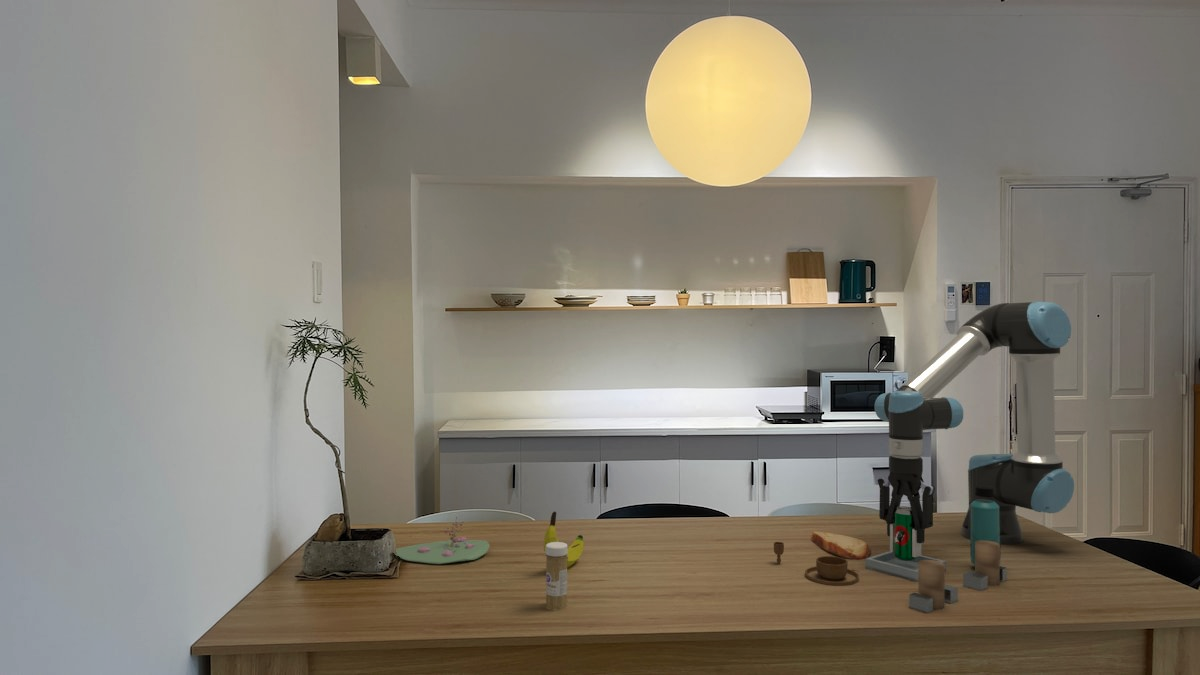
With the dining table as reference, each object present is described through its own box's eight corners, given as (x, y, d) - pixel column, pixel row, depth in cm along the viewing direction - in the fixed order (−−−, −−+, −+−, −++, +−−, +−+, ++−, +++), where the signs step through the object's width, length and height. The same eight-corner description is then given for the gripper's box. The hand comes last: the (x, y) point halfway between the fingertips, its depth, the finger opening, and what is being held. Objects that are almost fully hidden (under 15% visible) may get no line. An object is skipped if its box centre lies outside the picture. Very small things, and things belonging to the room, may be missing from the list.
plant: (390, 568, 189) (390, 531, 189) (392, 545, 209) (392, 512, 209) (493, 560, 195) (492, 525, 195) (485, 539, 215) (485, 507, 215)
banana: (589, 560, 194) (589, 500, 194) (557, 580, 178) (556, 515, 178) (573, 558, 196) (573, 498, 195) (539, 578, 180) (539, 513, 180)
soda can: (918, 562, 181) (918, 511, 181) (896, 560, 182) (896, 510, 182) (914, 555, 186) (914, 506, 186) (892, 554, 187) (892, 505, 187)
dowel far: (981, 577, 179) (981, 539, 179) (1003, 583, 175) (1003, 543, 175) (970, 582, 176) (970, 542, 176) (993, 588, 172) (993, 547, 172)
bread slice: (814, 537, 216) (814, 523, 216) (881, 546, 206) (881, 532, 206) (793, 552, 201) (793, 538, 201) (864, 563, 191) (864, 548, 191)
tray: (895, 559, 194) (895, 549, 194) (945, 571, 183) (945, 561, 183) (865, 568, 186) (865, 558, 186) (916, 582, 175) (916, 571, 175)
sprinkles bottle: (541, 609, 160) (540, 544, 159) (556, 603, 163) (556, 539, 163) (557, 614, 157) (557, 548, 156) (572, 608, 160) (572, 543, 160)
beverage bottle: (1004, 575, 181) (1004, 489, 180) (973, 573, 182) (973, 488, 182) (995, 566, 187) (996, 484, 187) (966, 565, 188) (966, 483, 188)
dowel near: (926, 600, 164) (926, 558, 164) (949, 607, 160) (949, 563, 160) (913, 605, 161) (913, 562, 161) (936, 612, 157) (936, 568, 157)
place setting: (809, 593, 171) (809, 566, 171) (768, 566, 190) (768, 542, 190) (879, 586, 175) (879, 560, 175) (832, 560, 194) (832, 537, 194)
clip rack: (989, 576, 180) (989, 563, 180) (1006, 580, 177) (1006, 567, 177) (909, 609, 159) (909, 594, 159) (927, 614, 156) (927, 599, 156)
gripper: (863, 452, 189) (863, 547, 189) (933, 462, 175) (933, 565, 175) (880, 449, 194) (880, 542, 194) (950, 459, 179) (950, 559, 180)
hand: (905, 553), depth 184 cm, fingers closed on soda can, 5 cm apart
